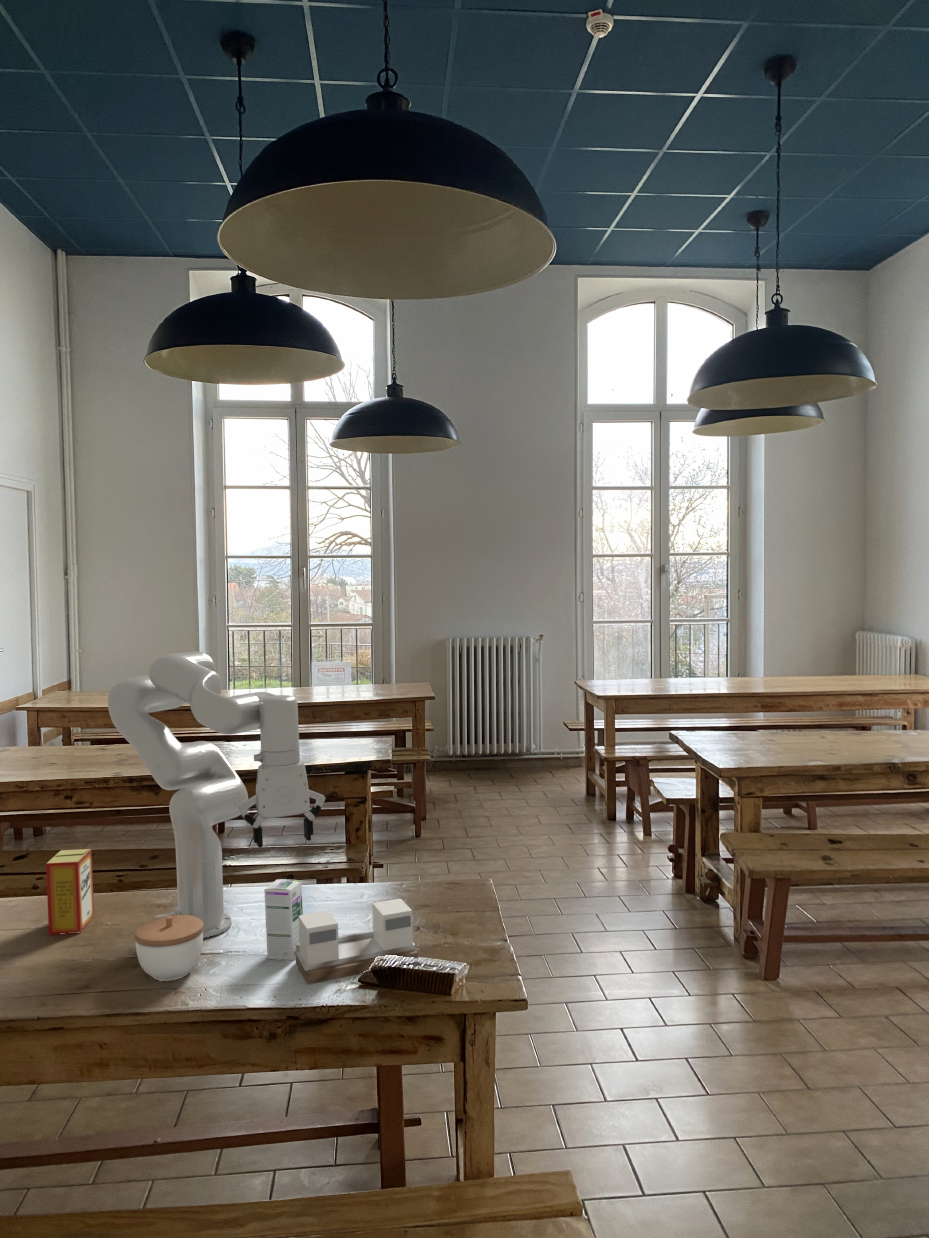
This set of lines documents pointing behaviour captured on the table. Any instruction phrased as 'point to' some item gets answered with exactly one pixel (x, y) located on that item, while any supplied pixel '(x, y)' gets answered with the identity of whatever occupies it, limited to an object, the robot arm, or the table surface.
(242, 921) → the table surface
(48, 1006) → the table surface
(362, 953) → the rail board
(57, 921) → the baking soda box
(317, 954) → the mounted modules
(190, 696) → the robot arm
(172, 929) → the lidded bowl
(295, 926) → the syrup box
